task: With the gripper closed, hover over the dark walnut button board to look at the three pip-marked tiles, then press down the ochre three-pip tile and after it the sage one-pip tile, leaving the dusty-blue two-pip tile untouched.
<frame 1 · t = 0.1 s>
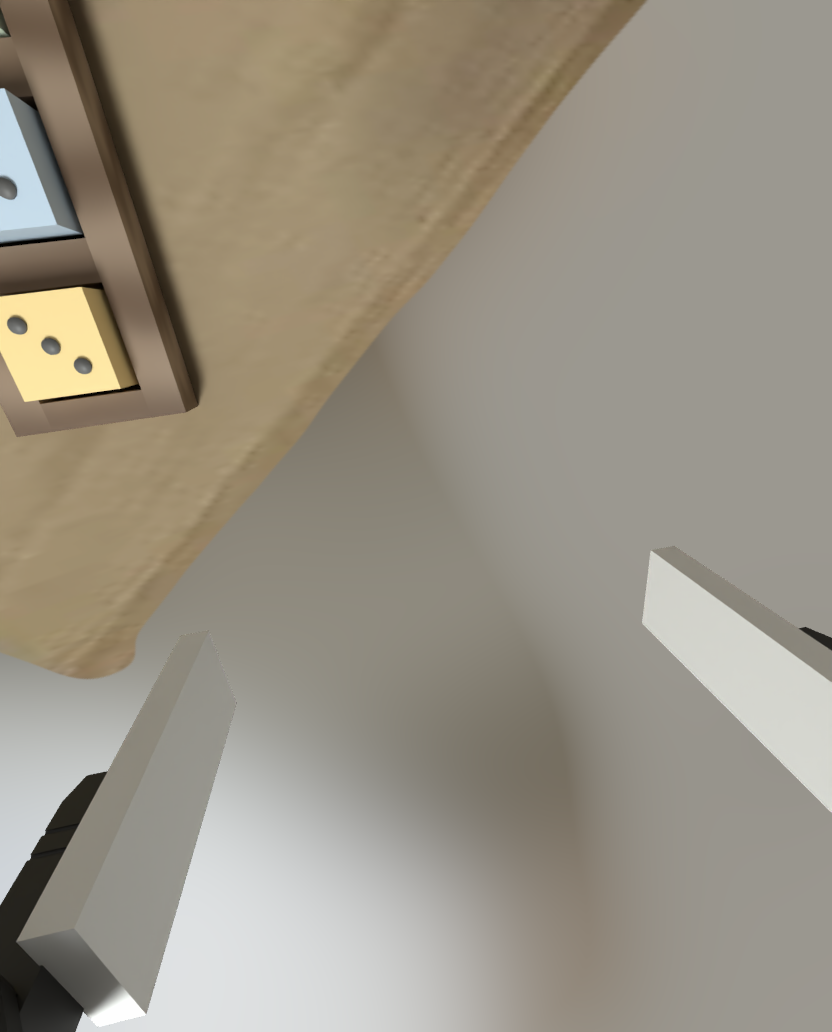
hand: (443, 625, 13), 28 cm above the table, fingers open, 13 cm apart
board: (31, 190, 29), on the table
tile 3: (64, 345, 30), point 4 cm above the table, slide at 0.0 cm
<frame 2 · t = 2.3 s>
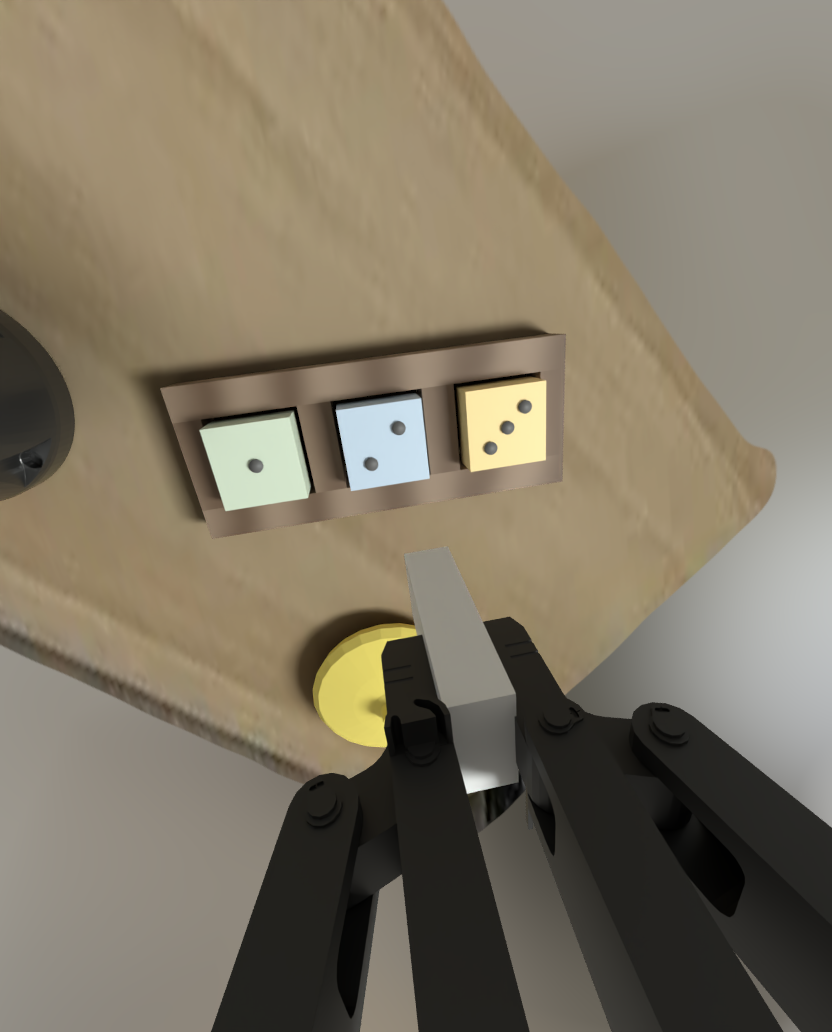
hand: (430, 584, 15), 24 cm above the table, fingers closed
board: (380, 431, 37), on the table
tile 2: (383, 441, 34), point 4 cm above the table, slide at 0.0 cm
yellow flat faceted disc: (388, 668, 48), on the table
tile 1: (259, 460, 33), point 4 cm above the table, slide at 0.0 cm
tile 3: (501, 423, 35), point 4 cm above the table, slide at 0.0 cm
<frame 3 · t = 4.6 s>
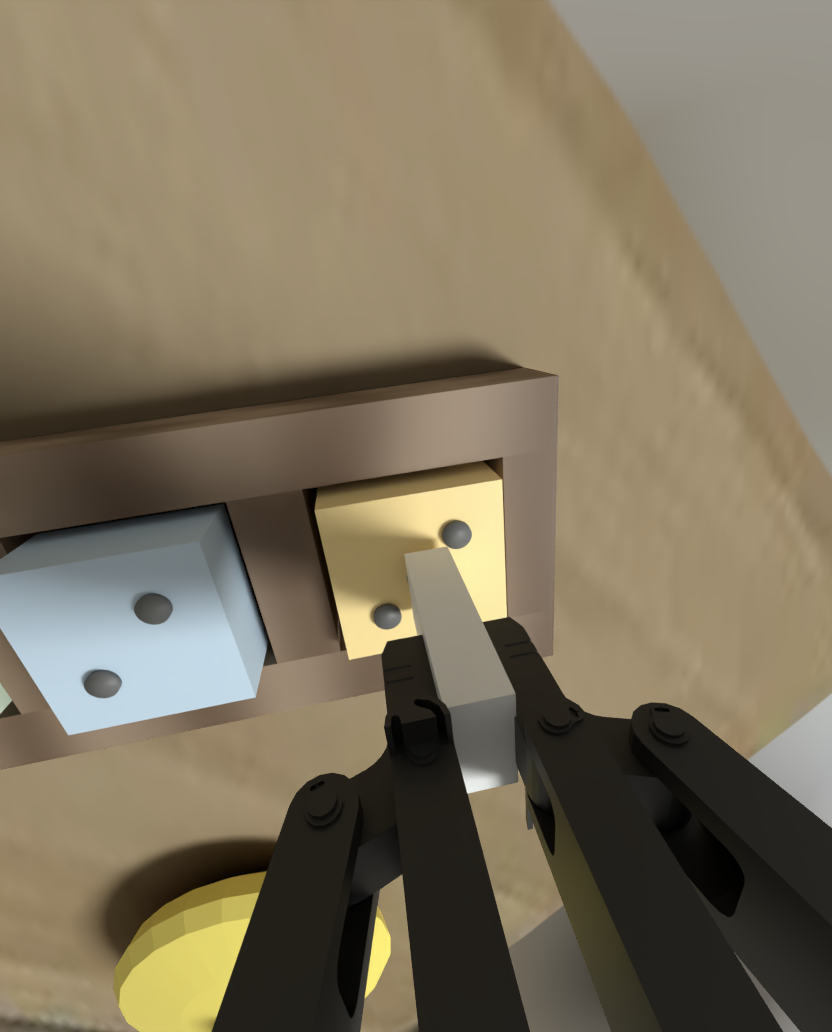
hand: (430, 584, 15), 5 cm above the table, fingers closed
board: (181, 566, 18), on the table
tile 2: (147, 618, 15), point 4 cm above the table, slide at 0.0 cm
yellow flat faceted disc: (268, 906, 29), on the table
tile 3: (414, 556, 17), point 3 cm above the table, slide at 1.0 cm, touching gripper
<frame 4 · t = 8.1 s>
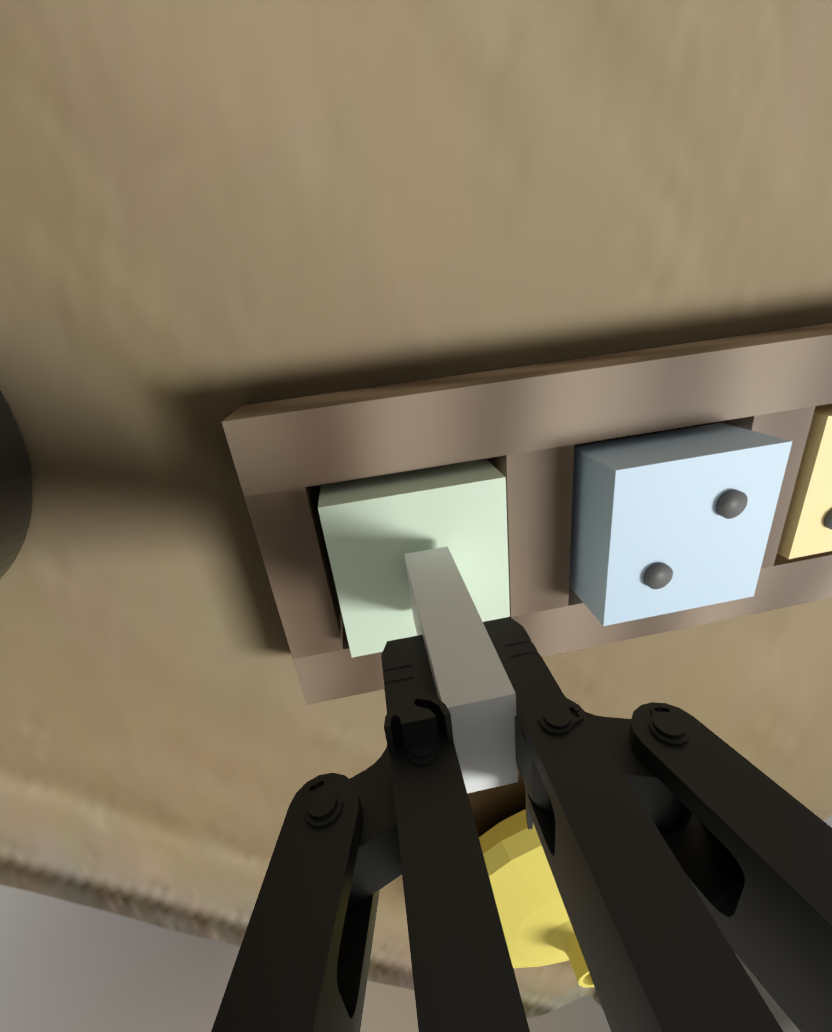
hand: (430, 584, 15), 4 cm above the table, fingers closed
board: (612, 490, 20), on the table
tile 2: (665, 523, 17), point 4 cm above the table, slide at 0.0 cm
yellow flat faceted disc: (543, 837, 31), on the table
tile 1: (417, 554, 17), point 3 cm above the table, slide at 1.0 cm, touching gripper
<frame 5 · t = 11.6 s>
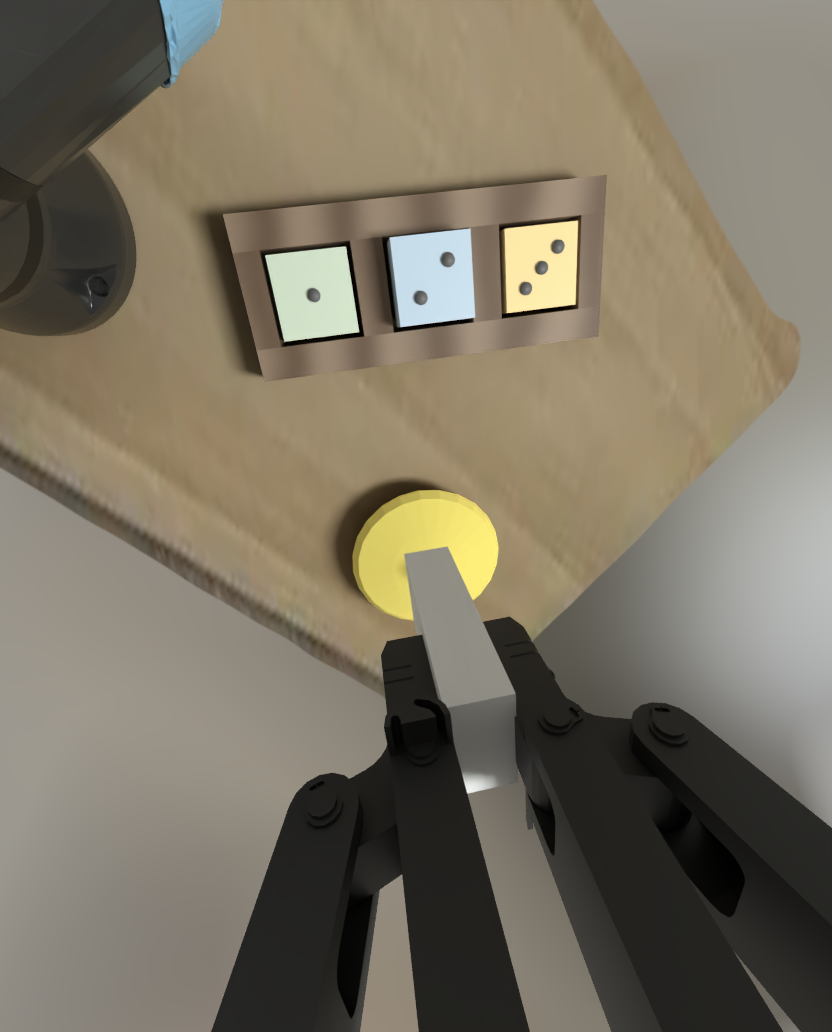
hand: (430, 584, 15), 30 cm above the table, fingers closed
board: (424, 284, 39), on the table
tile 2: (431, 281, 36), point 4 cm above the table, slide at 0.0 cm
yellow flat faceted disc: (422, 546, 49), on the table
tile 1: (315, 296, 36), point 2 cm above the table, slide at 1.8 cm
tile 3: (534, 270, 38), point 2 cm above the table, slide at 1.8 cm
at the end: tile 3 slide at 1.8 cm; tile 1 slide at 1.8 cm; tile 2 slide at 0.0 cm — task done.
